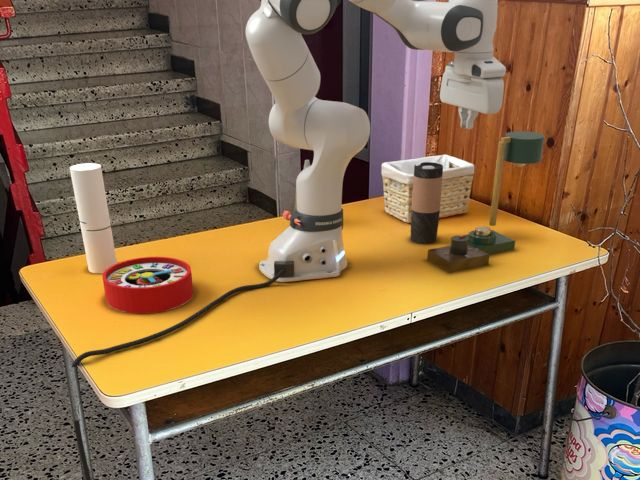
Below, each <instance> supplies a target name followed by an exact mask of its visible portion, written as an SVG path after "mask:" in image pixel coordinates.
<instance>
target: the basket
mask: <svg viewBox="0 0 640 480" xmlns="http://www.w3.org/2000/svg"><path fill="white" fill-rule="evenodd" d="M424 162H432V163H438V164H441V165H443V174H442V188H441V202H440V213H439V219H440V218H447V217H450V216H455V215H461V214H466V213H467V212H468V208H469V202H470V195H471V191H472V185H473V181H474V174H475V163H474V164H473V163H471V162H468V161H466V160H464V159H461V158H458V157H455V156H451V155H448V154H441V155H431V156H424V157H418V158H411V159H403V160H395V161H385V162H382V163H381V177H382V184H383V185H382V186H383V199H384V200H383V201H384V212H385V213H386V214H388V215H390V216H393V217H394V218H395V219H398V220H400V221H402V222H404V223H408V224H411V208H412V193H413V179H414V166H415V165H416V166H418V165H420V164H421V163H424Z"/></svg>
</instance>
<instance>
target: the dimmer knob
mask: <svg viewBox="0 0 640 480" xmlns="http://www.w3.org/2000/svg"><path fill="white" fill-rule="evenodd" d="M466 235H467V234H463V236H462V235H460V234H459V235H453V236H451V237H450V245H449V246H450V252H451V253H452V254H457V255H463V254H466V253H467V250H468V241H469V238H468V237H466Z"/></svg>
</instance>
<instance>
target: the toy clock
mask: <svg viewBox="0 0 640 480" xmlns="http://www.w3.org/2000/svg"><path fill="white" fill-rule="evenodd" d="M101 276H102V282H103V288H104V289H103V290H104V296H105V300H106V303H107V305H108V306H109V307H110V308H112V309H114V310H116V311H119V312H123V313H126V314H127V313H129V314H143V315H144V314H155V313H161V312H166V311H170V310H173V309H176V308H177V309H178V308H179V307H181V306H183V305H185V304H187V303H189V302H190V301H191V300H192V299H193V296H194V293H195V292H194V285H193V275H192V267H191V266H190V265H189V263H187V262H186V261H185V260H182V259H178V258H175V257H169V256H168V257H167V256H145V257H144V256H143V257H136V258H131V259H127V260H123V261H120V262H117V264H114V265H112V266H110V267H109V268H107V269H106V270H105V271H104V272H103V273H102V275H101Z"/></svg>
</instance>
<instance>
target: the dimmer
mask: <svg viewBox="0 0 640 480" xmlns="http://www.w3.org/2000/svg"><path fill="white" fill-rule="evenodd" d="M490 256H491V255H490V254H488V253H486V252H484V251H482V250H480V249H478V248H476V247H474V246H472V245H470V244H468V250H467V253H466V254H463V255H457V254H452V253H451V252H450V245H446V246H440V247H435V248H430V249H427V255H426V262H429V263H430V264H432V265H434V266H436V267H438V268H439V269H440V270H442V271H444V272H446V273H448V274H453V273H457V272H461V271H467V270H472V269H477V268H481V267H487V266H489V264H490Z"/></svg>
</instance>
